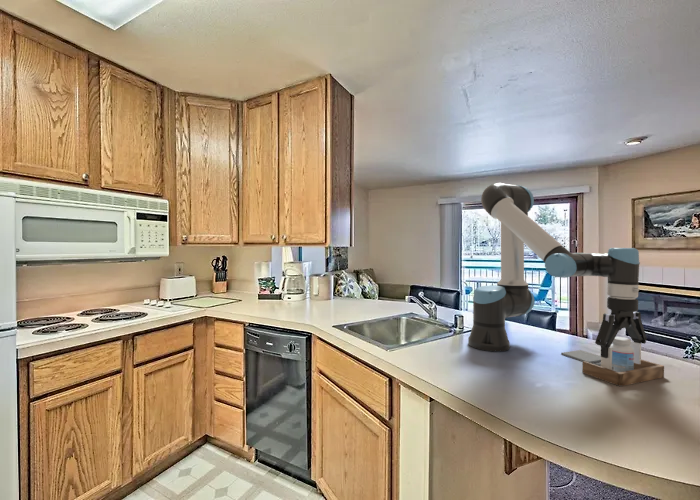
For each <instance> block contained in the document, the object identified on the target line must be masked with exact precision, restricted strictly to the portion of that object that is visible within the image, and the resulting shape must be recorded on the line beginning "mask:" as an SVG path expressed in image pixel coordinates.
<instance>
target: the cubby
mask: <svg viewBox="0 0 700 500" xmlns="http://www.w3.org/2000/svg"><path fill="white" fill-rule="evenodd" d="M581 369H582V373H583V374H585V375H588V376H591V377H594V378H595V379H600V380H602V381H605V382H607V383H611V384H612V385H616V386H619V387H624V386H628V385H633V384H638V383H644V382H648V381H652V380H656V379H657V380H659V379H662V378H664V377H665V365H663V364H662V365H661V364H659V363H657V362H652V361H649V360H644V359H642V358H641V364H636V363H634V370H630V371H624V372H616V371H613V370H610V369H607V368H604V367H601V366H598V365H595V363H589V362H586V361H582V368H581Z"/></svg>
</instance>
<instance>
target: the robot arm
mask: <svg viewBox="0 0 700 500" xmlns="http://www.w3.org/2000/svg"><path fill="white" fill-rule="evenodd" d="M480 201H481V205H482V207H483V209H484V210H485V212H486V214H488V215H489V216H490V217H491V218H493V219H495V220H498V221H499V222H500V280H499V281H498V282H497V284H496V285H494V284H491V285H482V286H478V287H476V288H475V289H474V291H473V298H472V300H473V301H472V303H473V308H472V313H473V314H472V315H473V319H472V321H473V323H472V327H471V331H470V335H469V336H468V339H467V340H468V342H467V343H468V345H469V346H470V347H472V348H474V349H477V350H480V351H488V352H505V351H506V352H507V351H509V350H510V345H511V344H510V340H509V338H508V334H507V333H508V332H507V330H506V319H507V318H512V317H522V316H524V315H527V314H529V313H530V312H531V311H532V310H533V308H534V305H535V296H534V293H532V290H530V289H529V283H528V282H527V281H525V246H526V247H528V248H529V249H530V250H531V251H532V252H533V253H534V254H535V255H536V256H537V257H539V259H541V260H542V261H543V262H544V267H545V270H546V272H547V274H548V275H550V276H551V277H555V278H570V277H571V278H572V277H600V278H601V277H604V278H607V289H606V290H607V292H606V293H607V294H606V295H607V296H608V297H606V298H607V299H606V306H607V307H606V308H607V309H609V310H610V311H611V312H610V314H608V313H603V315H602V322H601V325H600V327H599V330H598V333H597V335H596V339H595V345H598V346H599V347H600V356H601V362H600V363H601V367H604V368H607V369H610V370H611V369H612V348H611V347H610V346H611V344H613V340H614V339H615V337H617V335H618V333H619V332H620V331H621V330H622V329H625V330H626V331H627V334H628V335H629V337H630V340H631V345H630V347H632V348H633V350H634V363H636V364H641V359H642V344H644V345H645V344H646V343H647V339H648V338H647V335H646V332H645V328H644V324H643V321H642V315H641V313H642V312H640V311H639V300H638V299H637V298H638V297H639V291H640V288H639V278H640V277H639V276H640V264H641V262H640V253H639V252H640V251H639V250H638V249H637V248H635V247H610V248H608V250H607V253H593V252H592V253H591V252H590V253H589V252H570V251H569V249H568V248H566V247H565V246H563V245H562V244H561V243H560V242H559V241H558V240H557V239H556V238H554V237H553V236H552V235H550V234H549V233H548V232H547V231H546V230H545V229H543V228H542V227H541V226H540V225H539V224H538V223H536V222H535V221H534V220H533V219H532V218H531V217H530V216H529V212H530V211H531V209H532V208H533V206H534V203H535V199H534V194H533V193H532V191H531V189H529V188H528V187H526V186H522V185H519V184H509V183H502V182H497V183H493V184H491V185H489V186H487V187H486V188H485V189H484V190H483V192H482V194H481V199H480Z"/></svg>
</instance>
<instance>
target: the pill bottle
mask: <svg viewBox="0 0 700 500" xmlns="http://www.w3.org/2000/svg"><path fill="white" fill-rule="evenodd" d="M631 341H632V339H631V338H627V337H623V336H616V337H615V339H614V340H613V342H612V344H611V346H610V347H611V348H612V369H611V370H613V371H616V372H624V371H630V370H635V369H634V350H633V348H632V347H630V345H631Z"/></svg>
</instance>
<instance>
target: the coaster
mask: <svg viewBox="0 0 700 500" xmlns="http://www.w3.org/2000/svg"><path fill="white" fill-rule="evenodd" d="M560 355H562V356H565V357H568V358H571V359H575V360H577V361H580V362H583V361H586V362H589V363H592V364H595V363H601V355H598V354H595V353H592V352H589V351H585V350H582V349H579V350H571V351H570V350H569V351H563V352H561V354H560Z"/></svg>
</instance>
